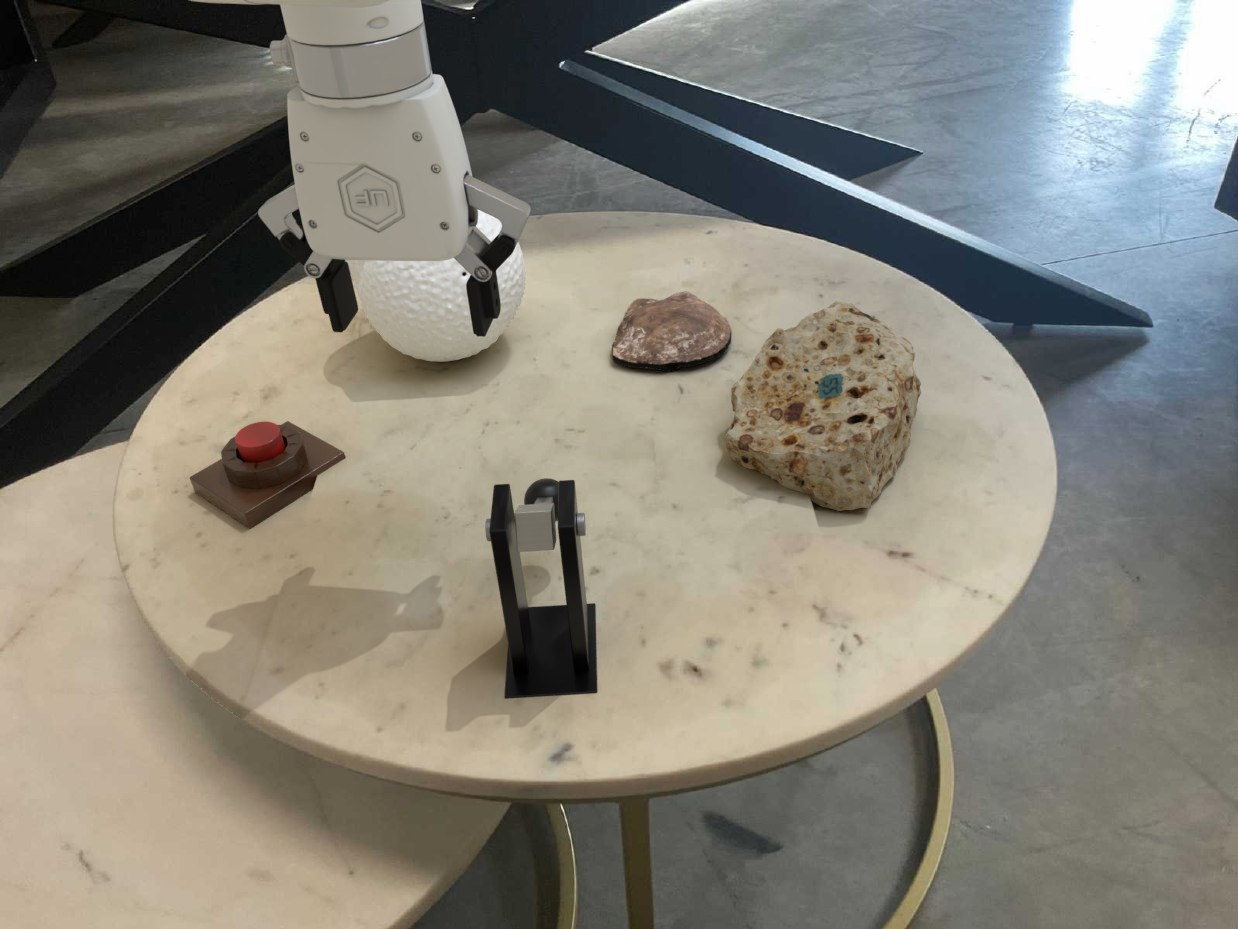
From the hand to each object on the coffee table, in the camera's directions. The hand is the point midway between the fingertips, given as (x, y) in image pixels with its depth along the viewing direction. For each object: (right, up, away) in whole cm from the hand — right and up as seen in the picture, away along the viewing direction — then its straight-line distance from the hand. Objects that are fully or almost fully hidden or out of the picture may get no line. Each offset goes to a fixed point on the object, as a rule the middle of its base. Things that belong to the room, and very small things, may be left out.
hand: (415, 324), depth 69 cm
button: (-16, -8, +17) cm, 25 cm away
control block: (-16, -11, +19) cm, 27 cm away
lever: (+9, -14, -1) cm, 17 cm away
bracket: (+9, -23, +1) cm, 24 cm away
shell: (+19, +3, +34) cm, 39 cm away
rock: (+31, -7, +20) cm, 38 cm away
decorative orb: (-4, +2, +35) cm, 35 cm away
